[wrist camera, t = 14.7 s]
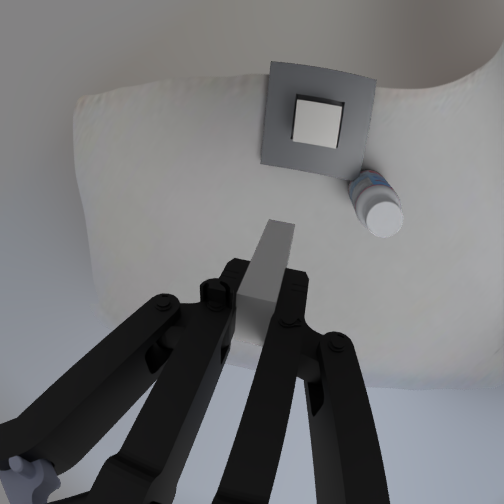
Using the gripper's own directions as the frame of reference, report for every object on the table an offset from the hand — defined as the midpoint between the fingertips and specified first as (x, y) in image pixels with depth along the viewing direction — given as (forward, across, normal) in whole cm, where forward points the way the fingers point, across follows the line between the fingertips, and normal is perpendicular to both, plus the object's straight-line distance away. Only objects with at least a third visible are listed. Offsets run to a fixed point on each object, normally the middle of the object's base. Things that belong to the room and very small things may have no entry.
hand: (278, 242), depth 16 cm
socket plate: (+26, +1, +6) cm, 27 cm away
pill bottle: (+26, +10, -3) cm, 28 cm away
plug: (+26, +1, +6) cm, 27 cm away
